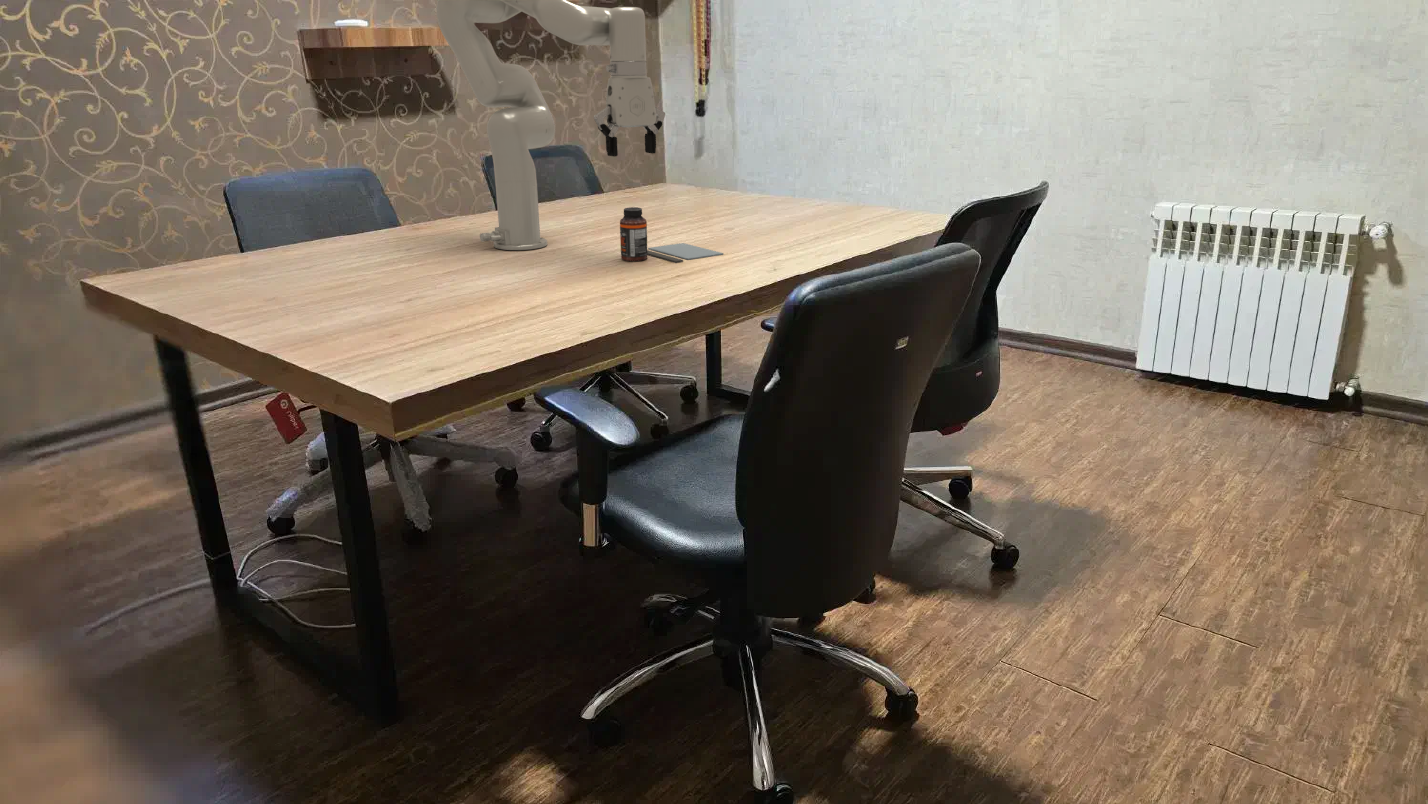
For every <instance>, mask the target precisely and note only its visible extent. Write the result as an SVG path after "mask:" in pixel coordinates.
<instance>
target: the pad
mask: <svg viewBox="0 0 1428 804" xmlns="http://www.w3.org/2000/svg"><path fill="white" fill-rule="evenodd" d="M647 250H649V251H652V252H656V253H660V254H663V255H667V256H671V257H674V258H678V259H681V260H683V259H684V260H686V261H689V260H697V259H703V258H710V257H717V256H721V255H722V256H723V255H724V252H720V251H716V250H712V249H708V248H704V247H700V246H696V245H693V244H688V243H685V242H681V243H674V244H673V243H672V244H665V245H660V246H652V247H647Z"/></svg>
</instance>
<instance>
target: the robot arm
mask: <svg viewBox="0 0 1428 804" xmlns="http://www.w3.org/2000/svg"><path fill="white" fill-rule="evenodd" d="M435 11H436V13H435V14H436V20H437V24H438V26H439V30H440V32H441V34H442V36H443V37H444V39H445V41H446V43H447V44H448V46H449V47H450V50H451V51H452V52H453V55H454V57H455V58H456V59H457V62H458V64H459V66H460V69H461V70H462V72H463V75H464V76H465V78H466V80H467V83H468V84H469V87H470V88H471V91H472V93H473V95H474V97H475V99H476V100H477V102H478V103H479V104H480V105H482V106H484V107H485V108H501V109H499V110H497V111H494V113H492V114H491V116H489V119H488V121H487V124H486V136H487V139H488V141H487V142H488V144H489V146H490V152H491V156H492V162H493V171H494V172H493V173H494V181H495V184H494V185H495V194H496V206H497V208H496V209H497V220H498V226H497V227H496V226H495V227H494V230H492V231H491V232H482V233H480V234H479V239H480V242H489V241H490V242H493V248H495V249H497V250H498V249H499V250H504V251H527V250H535V249H536V250H537V249H541V248H544V247H547V245H548V239H546V238H545V237H544V238H543V237H541V228H540V227H541V226H540V225H541V224H540V212H539V196H538V194H539V193H538V181H537V170H536V169H537V168H536V166H535V162H534V160H533V157H532V155H531V153H530V151H529V150H534V149H540V148H544V147H546V146H548V145H550V144H551V142H552V141H553V140H554V139H555V136H556V123H555V120H554V117H553V114H552V112H551V109H550V107H549V105H548V103H547V102H546V100H545V97H544V96H543V93H542V91H541V89H540V87H539V85H538V83H537V81H536V79H535V77H534V76H533V75H532V73H531V72H530V71H529V70H528V68H526V67H524V66H523V65H519V64H515V63H503V62H501V61H500V59H499V57H498V56H497V53H496V52H495V50H494V47H493V45H492V43H491V42H490V40H489V39H488V38H487V36H485V34H484V33H483V32H482V31H481V30H480V29H479V28H478V27H477V26H476V25H475V24H476V23H478V24H500V23H502V22H505V21H508V20H509V19H512V18H514V16H517V15H518V14H520V13H521V12H522V13H524V14H526V15H527V16H529V17H532V18H534V19H535V20H536V21H537V23H538V24H539V25H540V26H541V28H542V29H544V30H545V31H547V32H548V33H550V34H552V35H554V36H556V37H558V38H559V39H562V40H563V41H566V42H568V43H570V44H574V45H577V46H609V58H610V59H609V64H606V66H605V70H606V73H609V74H610V77H609V78H608V79H607V85H606V87H607V88H606V95H605V96H606V97H605V98H606V99H605V107H604V108H603V109H601V110H600V111H599V112H598V113H595V114H594V116H593V119H594V122H595V124H596V126H597V129H598V130H599V131H600V132H601V133H602V136H604V137H605V150H606V153H607V156H609V157H613V158H614V157H618V155H619V153H618V152H619V151H618V138H617V136H615V135H616V134H617V132H618V131H619V129H620V128H638V127H641V128H643V129H644V131H645V132H646V133H645V134H644V152H645V153H646V154H652V155H653V154H656V153H657V151H656V149H657V134H658V133H659V130H660V129H661V127H662V126H663V122H664V120H665V117H666V112H664V110H661V109H660V108H658V107H657V106H656V101H655V95H654V94H655V93H654V89H653V88H654V86H653V84H652V79H651V77H650V76H649V77H648V76H647V75H648V73H647V43H646V41H647V39H646V15H645V11H644V10H643V9H642V8H641V7H636V6H617V7H612V8H609V7H599V6H598V7H597V6H588V5H587V6H586V5H584V6H583V5H578V4H575V3H572V2H570V1H569V0H437V1H436V8H435ZM605 118H606V123H607V125H606V123H605V121H604V119H605Z"/></svg>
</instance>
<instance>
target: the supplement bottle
mask: <svg viewBox="0 0 1428 804" xmlns="http://www.w3.org/2000/svg"><path fill="white" fill-rule="evenodd" d="M642 215H643V208H641V207H635V206H632V207H631V206H629V207H625V208H624V209H623V217H622V218H620V220H619V234H620V236H619V237H620V240H619V241H620V257H621V259H622V260H623V261H625V262H636V263H637V262H642V261H645V260H647V259H648V255H647V250H648V228H647V225H648V224H647V219H646V218H645V217H643V216H642Z"/></svg>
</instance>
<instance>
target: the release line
mask: <svg viewBox="0 0 1428 804" xmlns="http://www.w3.org/2000/svg"><path fill="white" fill-rule="evenodd" d="M647 256H648V257H650V256H651V257H653V258H656V259H661V260H664V261H667V262H670V263H675V264H678V263H683V262H684V260H683V259H682V258H679V257H675V256H671V255H668V254H664V253H660V252H657V251H653V250H650V249H647Z"/></svg>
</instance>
